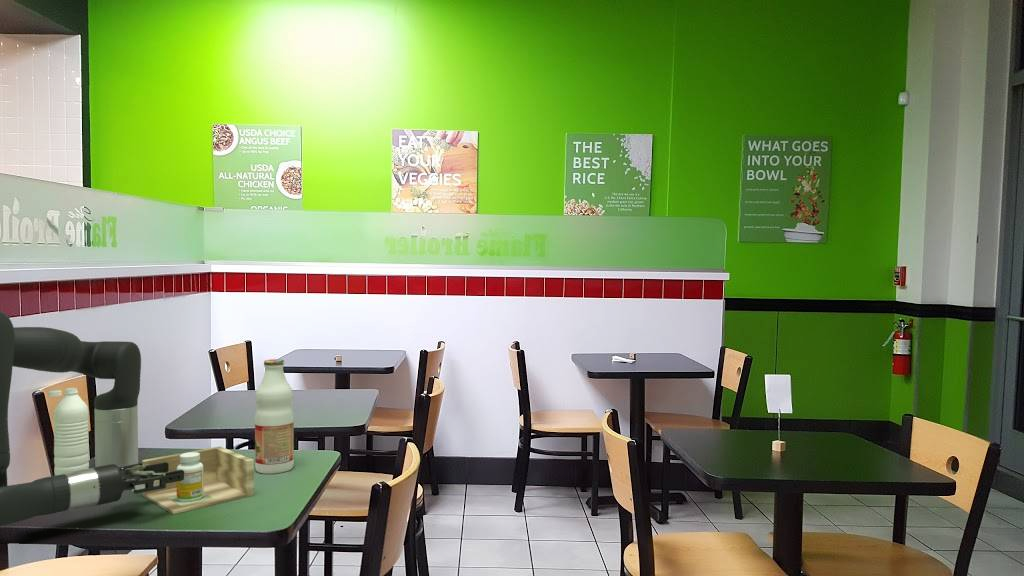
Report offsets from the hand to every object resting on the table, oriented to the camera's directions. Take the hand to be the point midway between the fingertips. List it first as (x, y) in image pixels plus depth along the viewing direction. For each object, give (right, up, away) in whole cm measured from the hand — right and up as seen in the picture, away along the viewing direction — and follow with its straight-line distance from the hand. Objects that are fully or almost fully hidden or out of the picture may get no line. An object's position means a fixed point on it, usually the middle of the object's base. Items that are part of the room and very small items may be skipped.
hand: (175, 470), depth 151 cm
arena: (+2, -7, +6) cm, 10 cm away
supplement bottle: (+2, -7, +2) cm, 8 cm away
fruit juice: (+12, -7, +28) cm, 31 cm away
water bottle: (-24, -8, +1) cm, 25 cm away
